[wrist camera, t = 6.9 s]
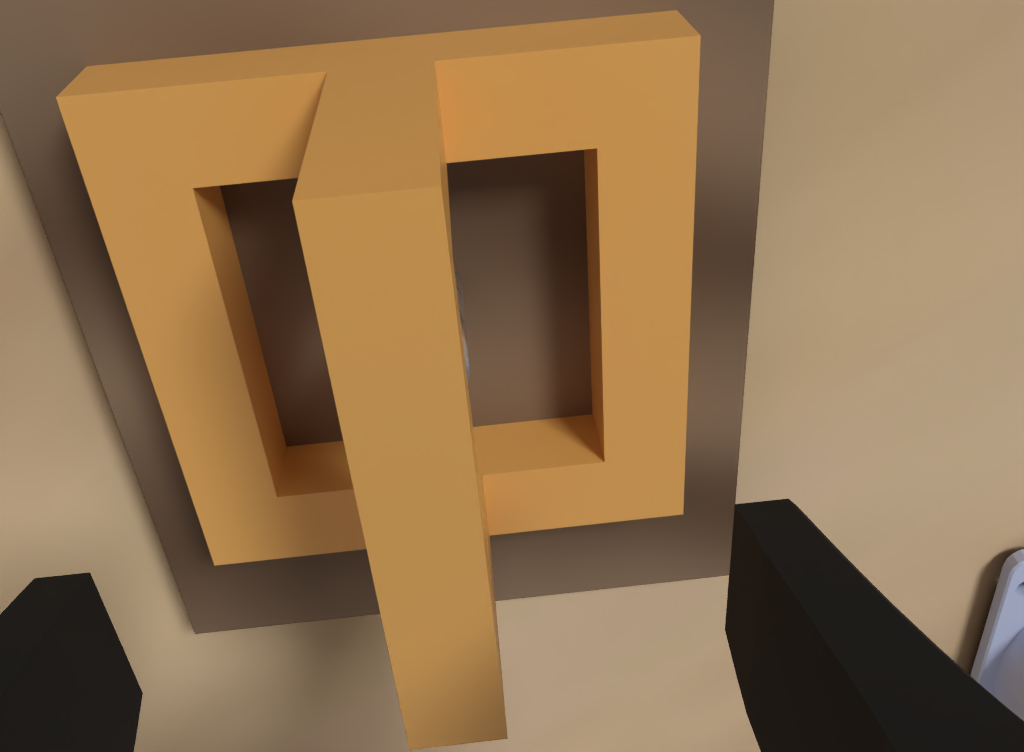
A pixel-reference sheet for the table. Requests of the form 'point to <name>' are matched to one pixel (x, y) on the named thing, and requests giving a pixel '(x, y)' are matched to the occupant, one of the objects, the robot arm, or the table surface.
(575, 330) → the walnut board
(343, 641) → the table surface
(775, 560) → the robot arm
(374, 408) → the link
